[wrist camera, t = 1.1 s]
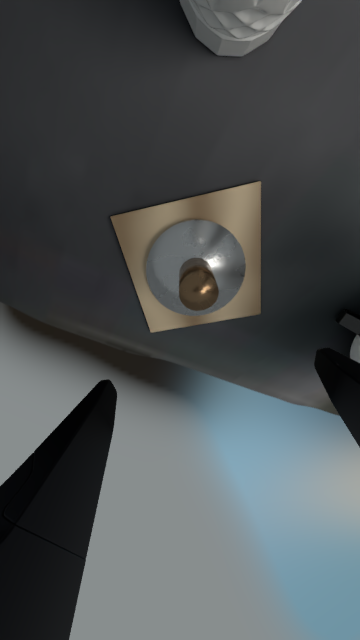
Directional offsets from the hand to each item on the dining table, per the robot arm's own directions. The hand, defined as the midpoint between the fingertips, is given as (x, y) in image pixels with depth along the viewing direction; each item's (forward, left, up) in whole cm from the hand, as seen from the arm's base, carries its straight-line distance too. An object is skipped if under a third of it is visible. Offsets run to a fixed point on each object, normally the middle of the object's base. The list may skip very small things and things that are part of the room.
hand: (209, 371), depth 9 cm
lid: (0, 0, -13) cm, 13 cm away
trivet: (0, 0, -13) cm, 13 cm away
